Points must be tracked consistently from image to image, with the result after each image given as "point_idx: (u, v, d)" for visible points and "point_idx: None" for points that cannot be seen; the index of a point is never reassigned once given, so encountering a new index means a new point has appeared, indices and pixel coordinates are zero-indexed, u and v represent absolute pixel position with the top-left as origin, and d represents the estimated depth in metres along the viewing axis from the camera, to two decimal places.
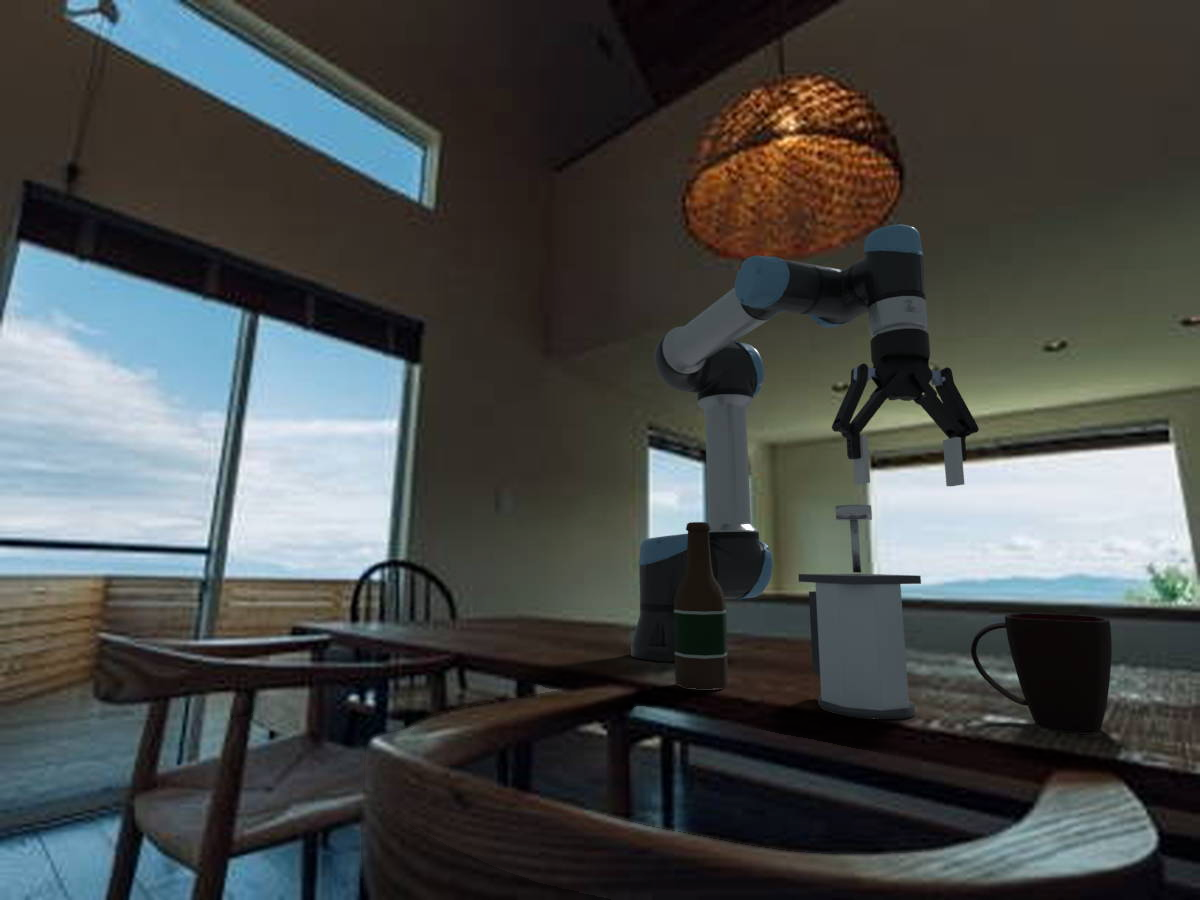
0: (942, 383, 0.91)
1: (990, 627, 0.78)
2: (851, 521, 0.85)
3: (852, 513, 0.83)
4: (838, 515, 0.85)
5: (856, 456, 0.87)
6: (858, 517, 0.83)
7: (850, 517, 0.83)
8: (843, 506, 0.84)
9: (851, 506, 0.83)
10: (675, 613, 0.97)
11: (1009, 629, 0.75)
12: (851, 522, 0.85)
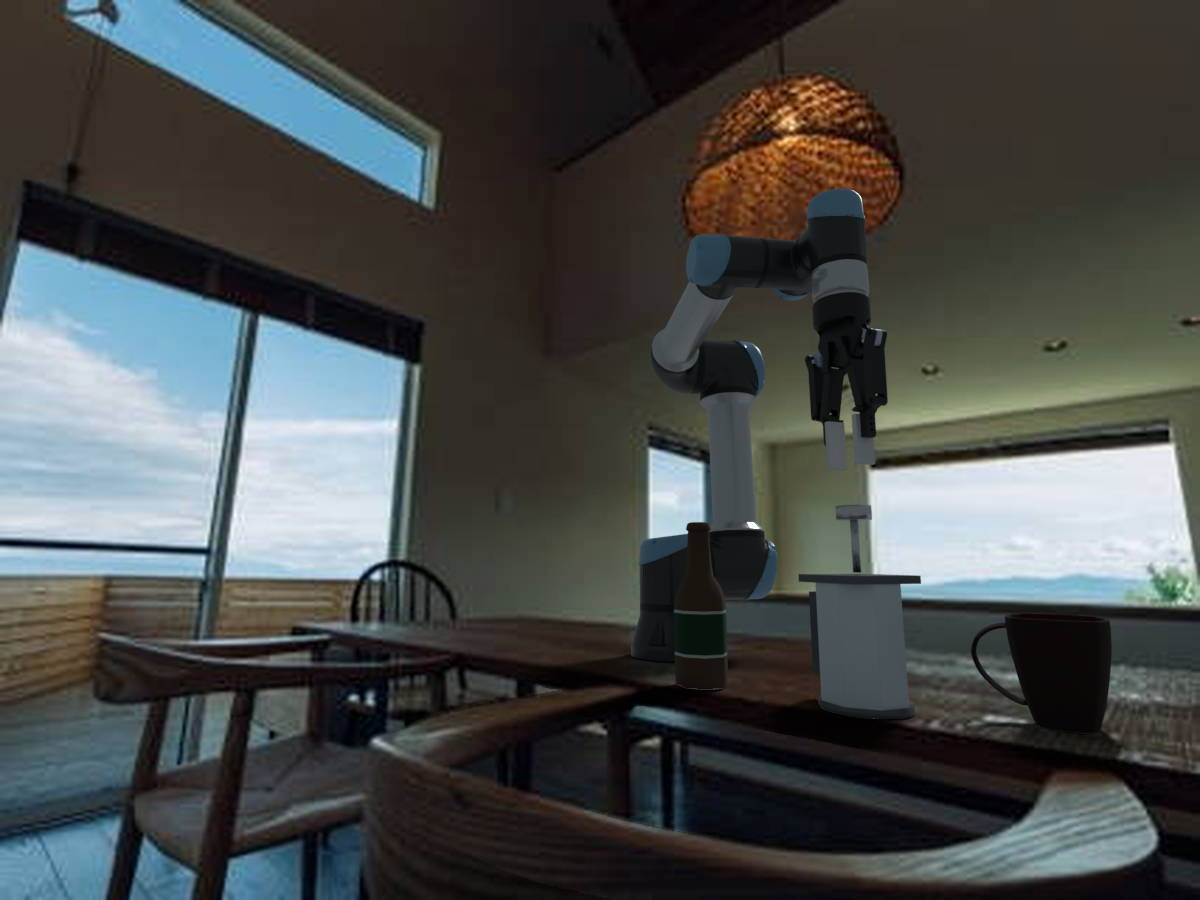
0: None
1: (990, 627, 0.78)
2: (851, 521, 0.85)
3: (852, 513, 0.83)
4: (838, 515, 0.85)
5: None
6: (858, 517, 0.83)
7: (850, 517, 0.83)
8: (843, 506, 0.84)
9: (851, 506, 0.83)
10: (675, 613, 0.97)
11: (1009, 629, 0.75)
12: (851, 522, 0.85)
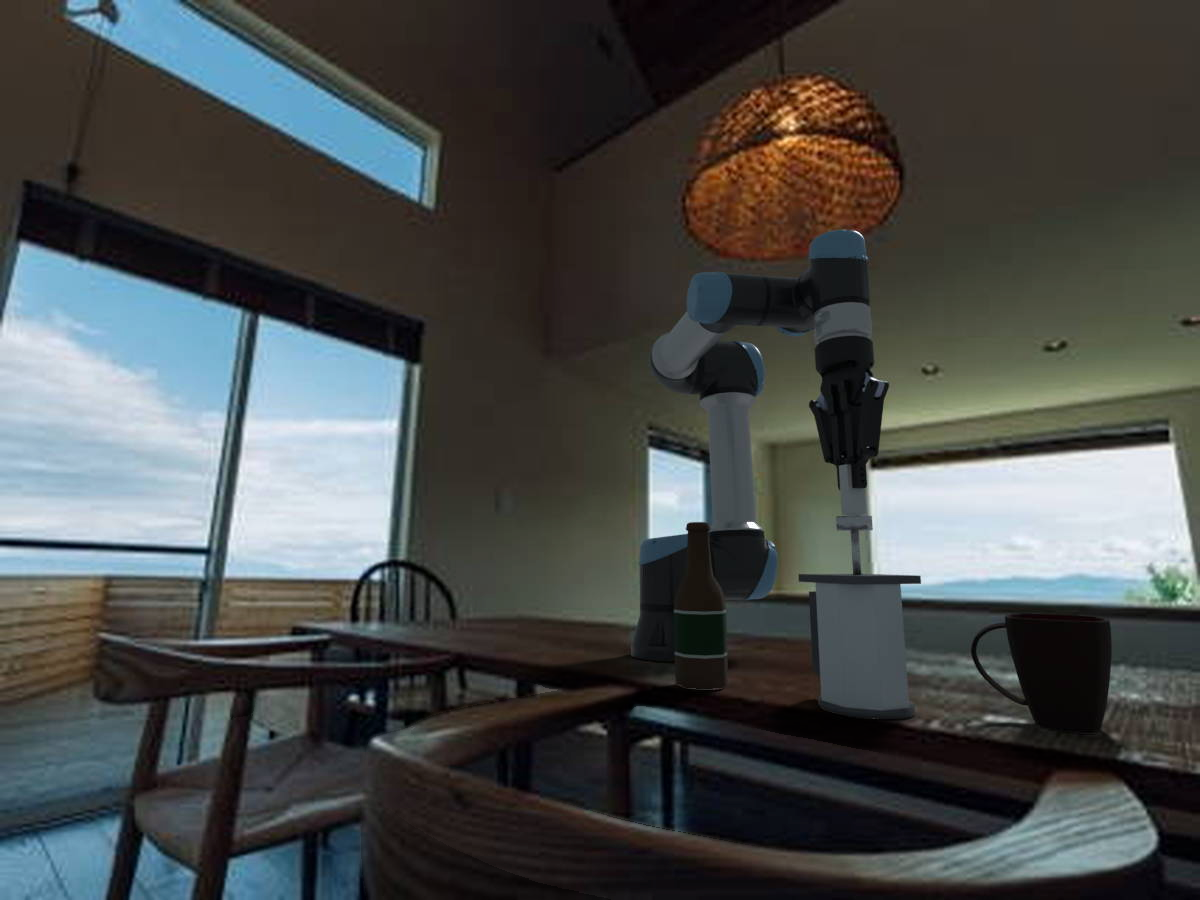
0: None
1: (990, 627, 0.78)
2: (852, 532, 0.85)
3: (852, 523, 0.83)
4: (839, 525, 0.85)
5: None
6: (859, 528, 0.83)
7: (851, 528, 0.83)
8: (844, 517, 0.84)
9: (852, 517, 0.83)
10: (675, 613, 0.97)
11: (1009, 629, 0.75)
12: (852, 533, 0.85)
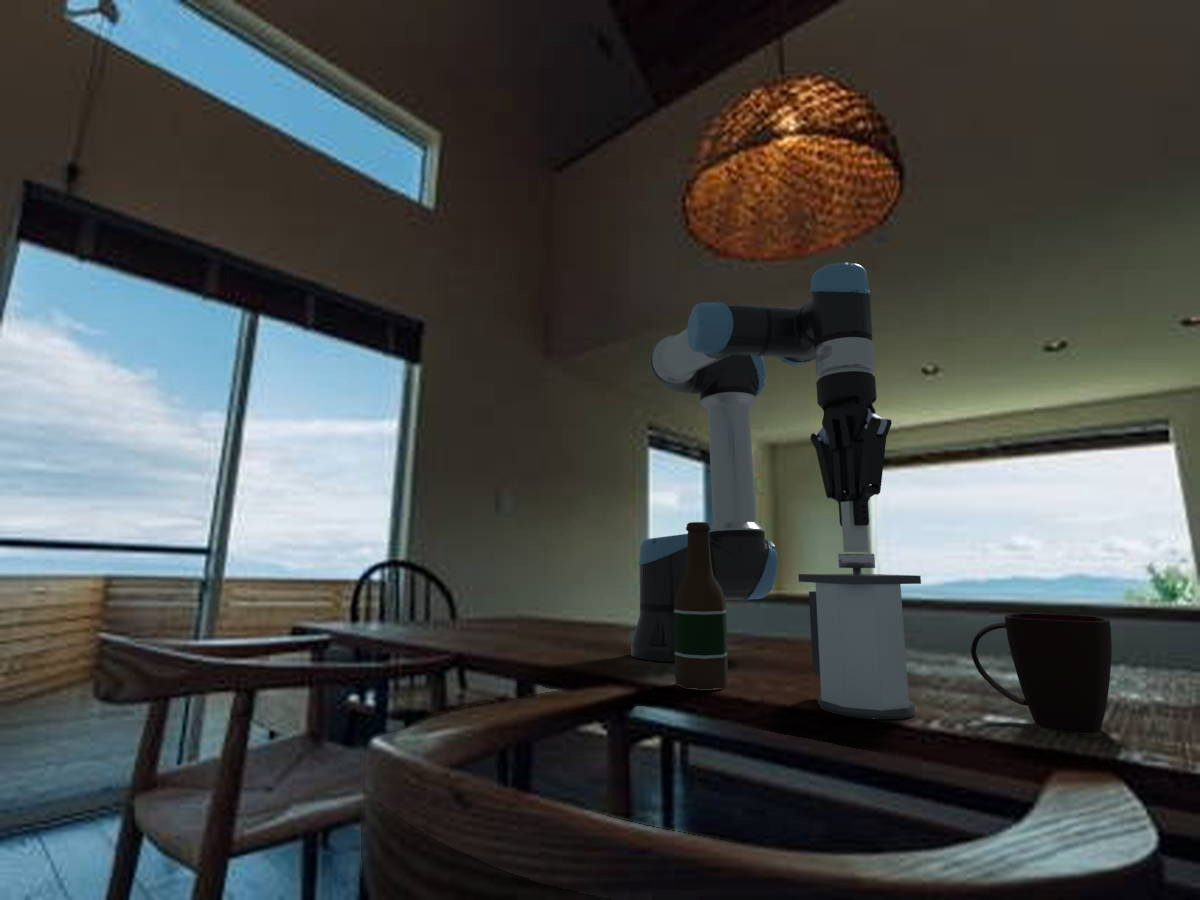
0: None
1: (990, 627, 0.78)
2: (854, 569, 0.84)
3: (855, 562, 0.82)
4: (841, 563, 0.84)
5: None
6: (861, 566, 0.82)
7: (853, 566, 0.82)
8: (846, 554, 0.83)
9: (854, 555, 0.82)
10: (675, 613, 0.97)
11: (1009, 629, 0.75)
12: (854, 570, 0.84)
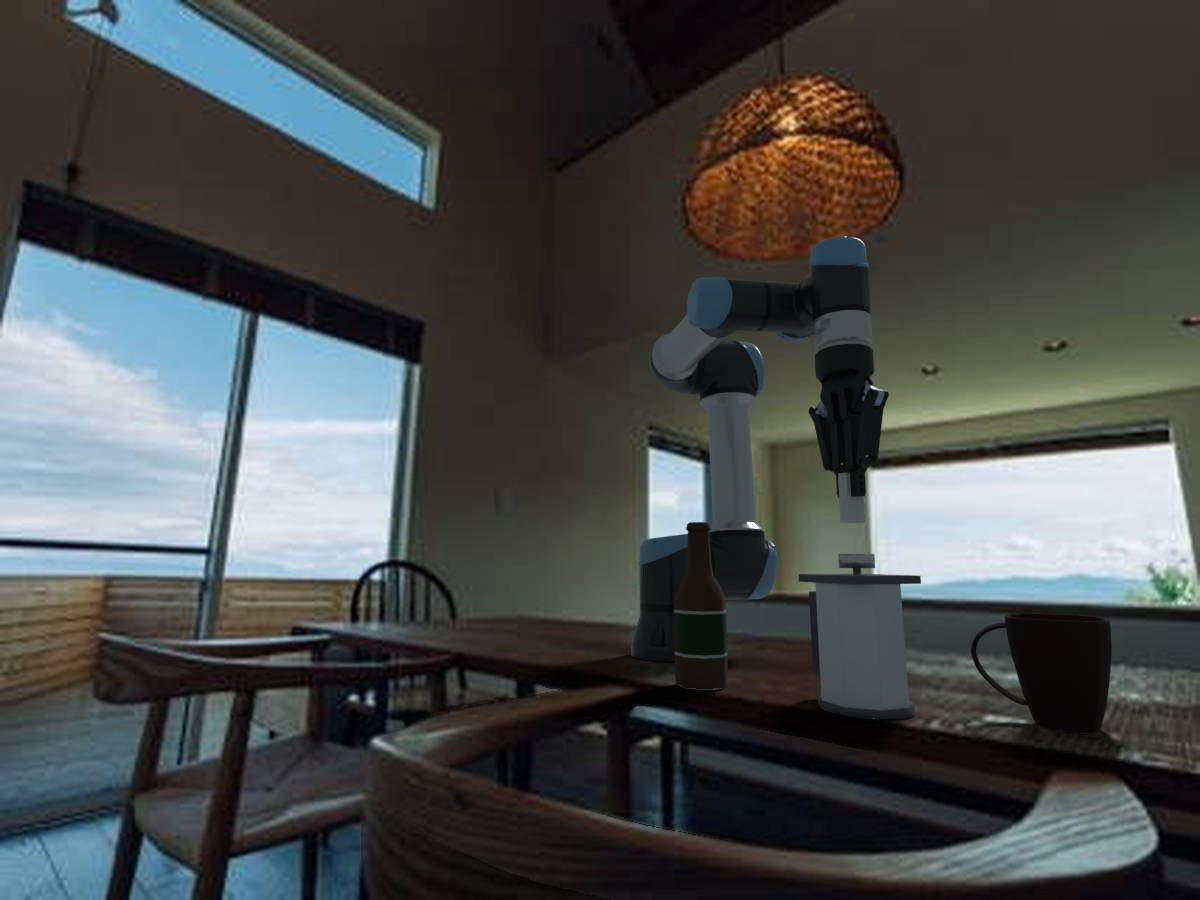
0: None
1: (990, 627, 0.78)
2: (854, 569, 0.84)
3: (855, 562, 0.82)
4: (841, 563, 0.84)
5: None
6: (861, 566, 0.82)
7: (853, 566, 0.82)
8: (846, 555, 0.83)
9: (854, 555, 0.82)
10: (675, 613, 0.97)
11: (1009, 629, 0.75)
12: (854, 570, 0.84)
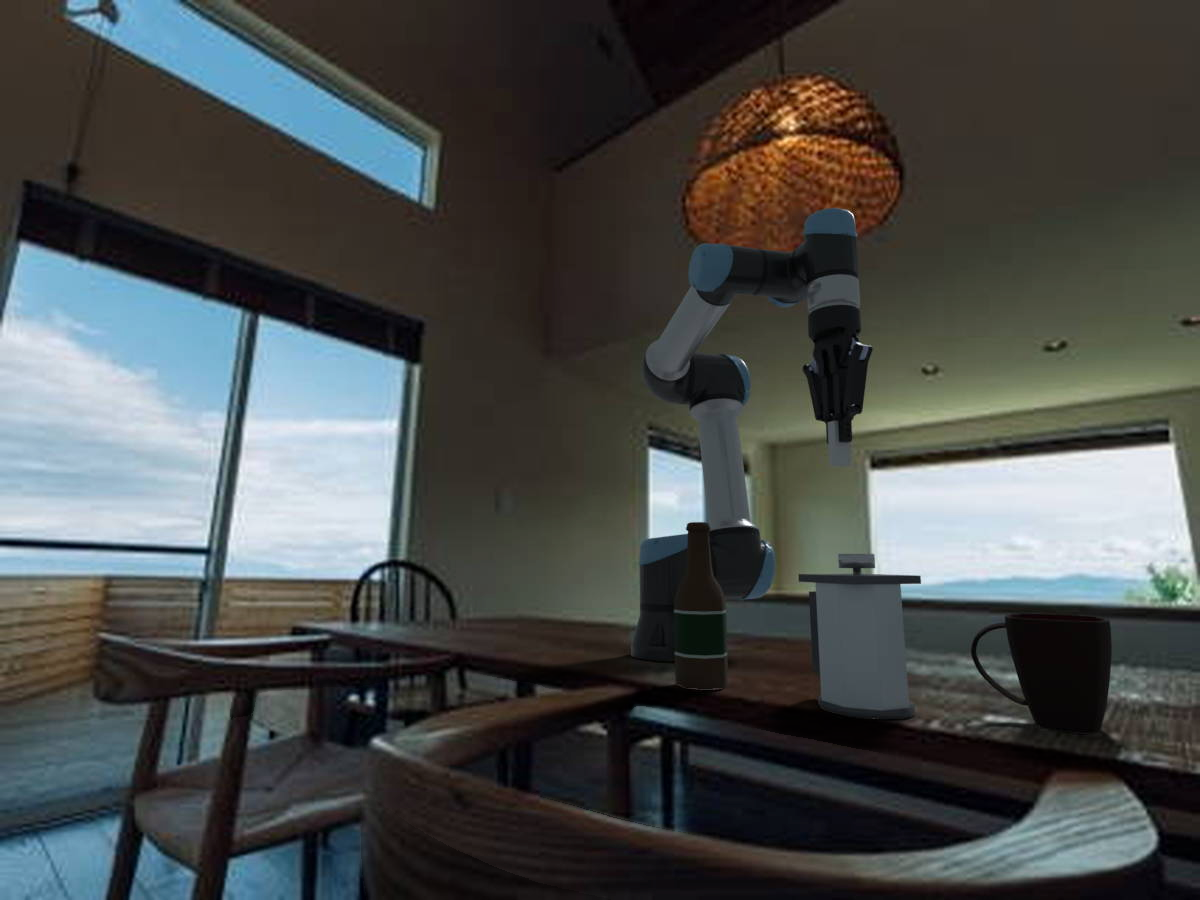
0: None
1: (990, 627, 0.78)
2: (854, 569, 0.84)
3: (855, 562, 0.82)
4: (841, 563, 0.84)
5: (829, 442, 0.96)
6: (861, 566, 0.82)
7: (853, 566, 0.82)
8: (846, 555, 0.83)
9: (854, 555, 0.82)
10: (675, 613, 0.97)
11: (1009, 629, 0.75)
12: (854, 570, 0.84)
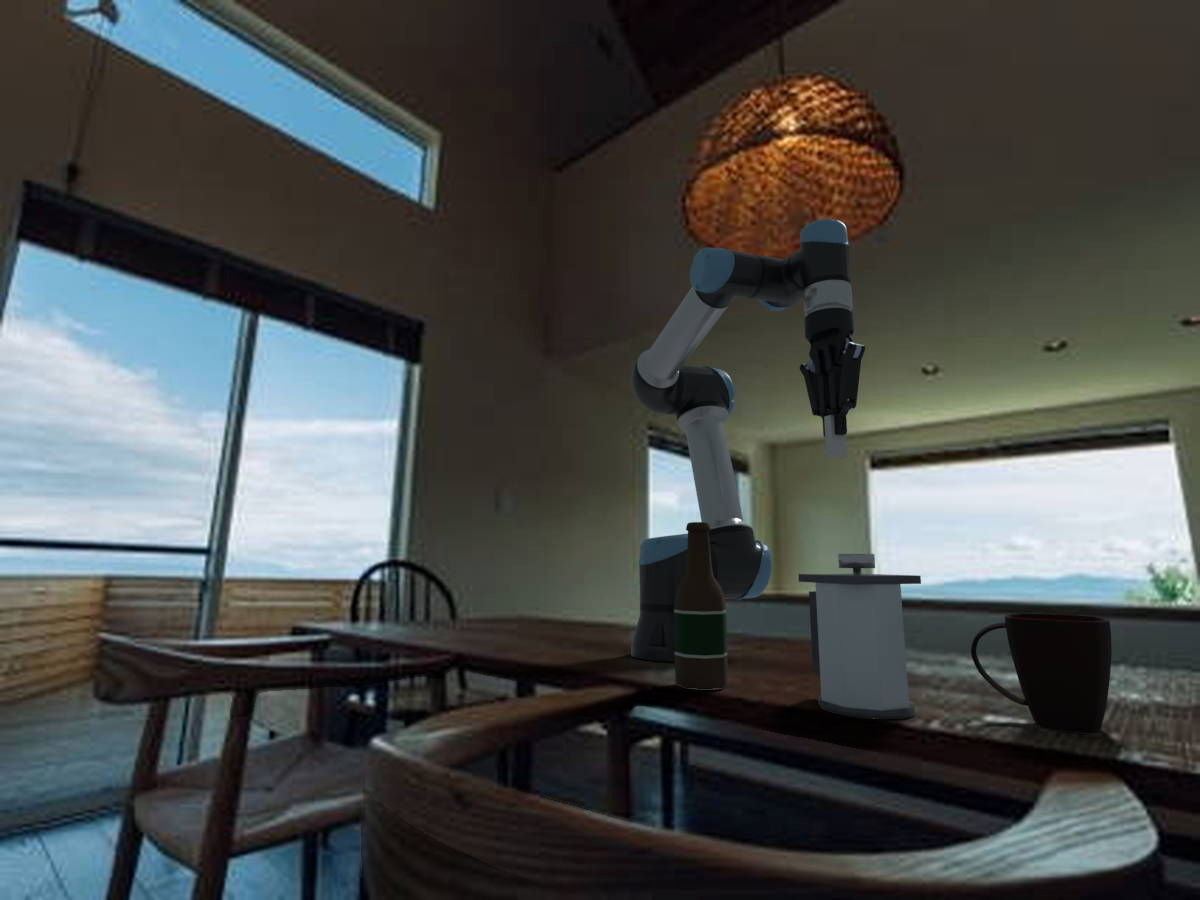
0: None
1: (990, 627, 0.78)
2: (854, 569, 0.84)
3: (855, 562, 0.82)
4: (841, 563, 0.84)
5: None
6: (861, 566, 0.82)
7: (853, 566, 0.82)
8: (846, 555, 0.83)
9: (854, 555, 0.82)
10: (675, 613, 0.97)
11: (1009, 629, 0.75)
12: (854, 570, 0.84)
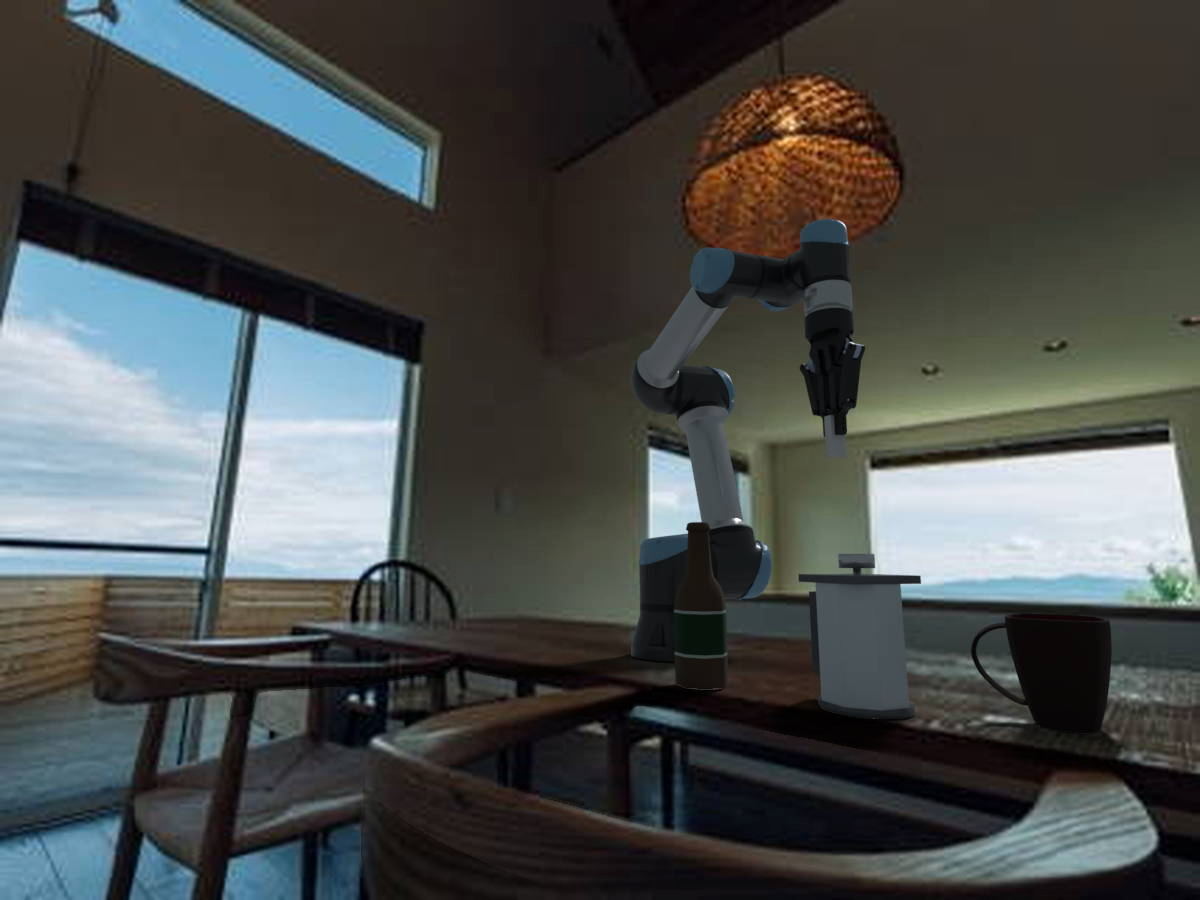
0: None
1: (990, 627, 0.78)
2: (854, 569, 0.84)
3: (855, 562, 0.82)
4: (841, 563, 0.84)
5: None
6: (861, 566, 0.82)
7: (853, 566, 0.82)
8: (846, 555, 0.83)
9: (854, 555, 0.82)
10: (675, 613, 0.97)
11: (1009, 629, 0.75)
12: (854, 570, 0.84)
